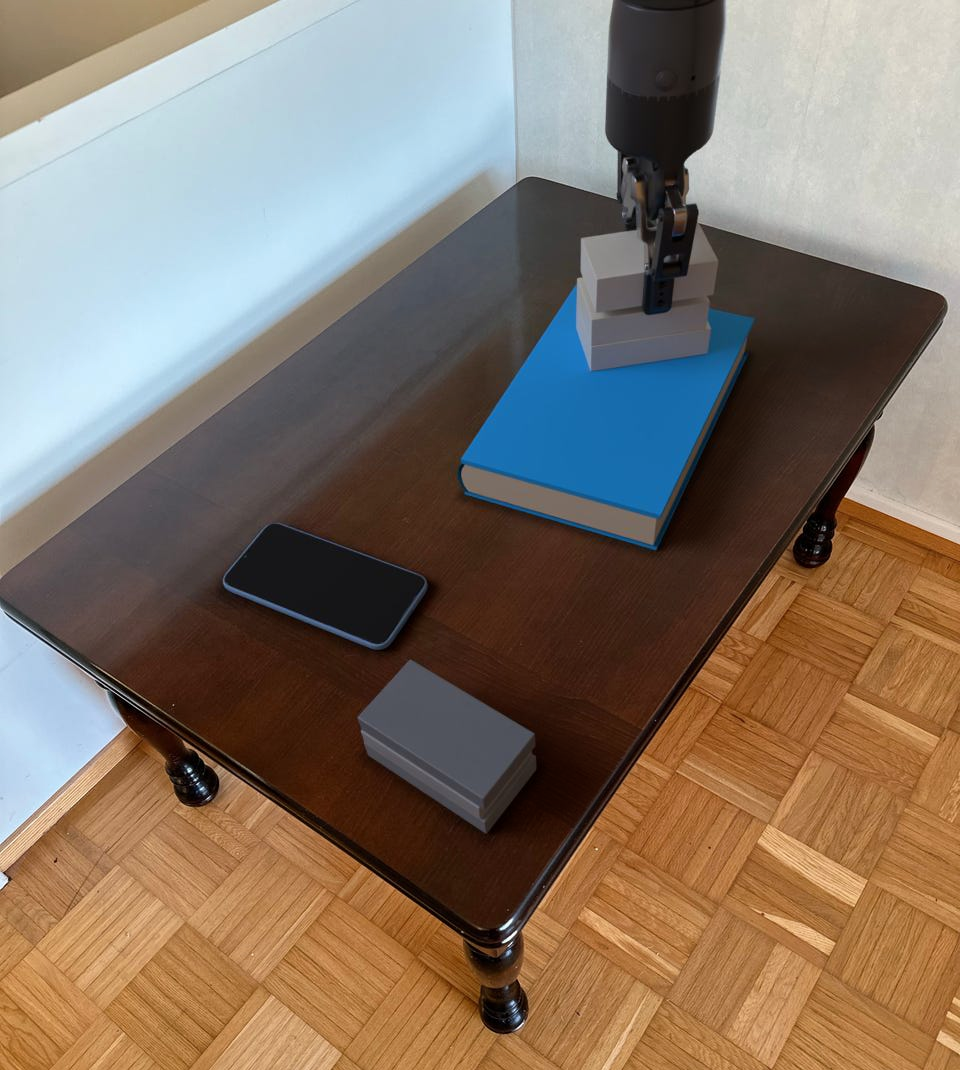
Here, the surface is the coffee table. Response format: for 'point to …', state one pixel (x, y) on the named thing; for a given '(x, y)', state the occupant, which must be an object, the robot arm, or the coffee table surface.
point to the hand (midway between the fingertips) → (646, 287)
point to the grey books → (448, 744)
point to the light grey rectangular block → (641, 332)
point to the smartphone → (326, 585)
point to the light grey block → (639, 270)
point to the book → (603, 432)
